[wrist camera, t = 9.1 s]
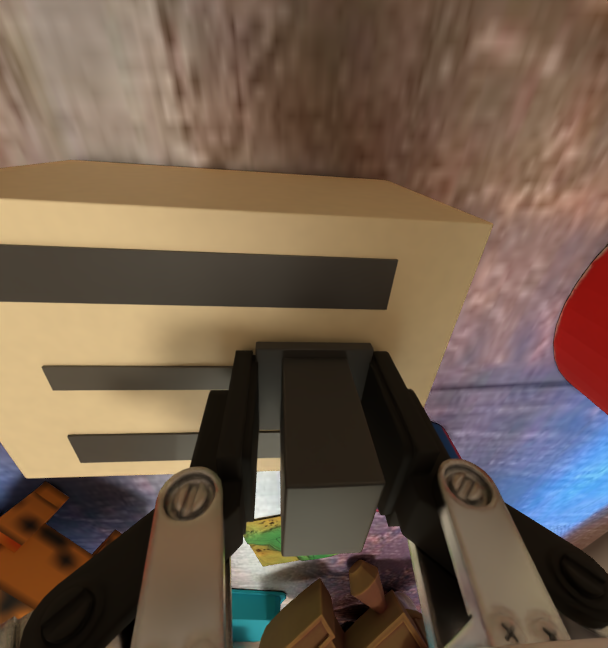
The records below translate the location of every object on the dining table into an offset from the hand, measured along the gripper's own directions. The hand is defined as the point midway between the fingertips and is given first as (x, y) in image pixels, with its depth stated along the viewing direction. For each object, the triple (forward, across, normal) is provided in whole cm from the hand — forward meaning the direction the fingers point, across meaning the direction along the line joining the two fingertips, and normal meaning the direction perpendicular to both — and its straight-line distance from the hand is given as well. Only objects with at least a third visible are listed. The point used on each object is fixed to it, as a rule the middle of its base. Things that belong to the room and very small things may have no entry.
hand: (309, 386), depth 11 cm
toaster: (+10, +3, 0) cm, 11 cm away
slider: (0, 0, 0) cm, 0 cm away
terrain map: (+10, -2, +35) cm, 36 cm away
